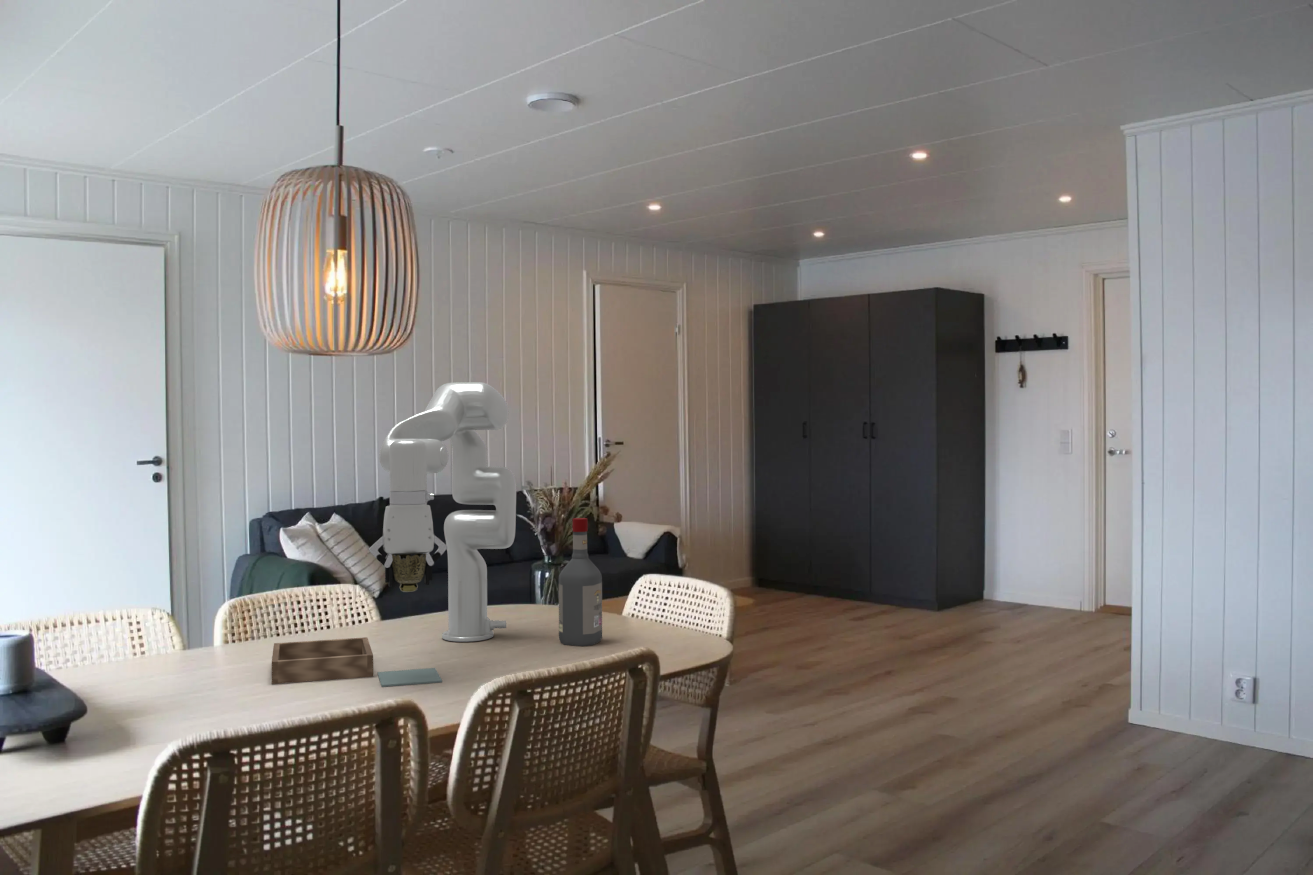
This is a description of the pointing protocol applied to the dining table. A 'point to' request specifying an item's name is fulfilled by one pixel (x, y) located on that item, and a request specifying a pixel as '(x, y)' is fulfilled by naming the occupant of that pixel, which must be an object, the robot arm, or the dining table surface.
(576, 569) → the liquor
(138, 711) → the dining table surface
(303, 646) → the walnut box
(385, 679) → the mat
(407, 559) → the cup
